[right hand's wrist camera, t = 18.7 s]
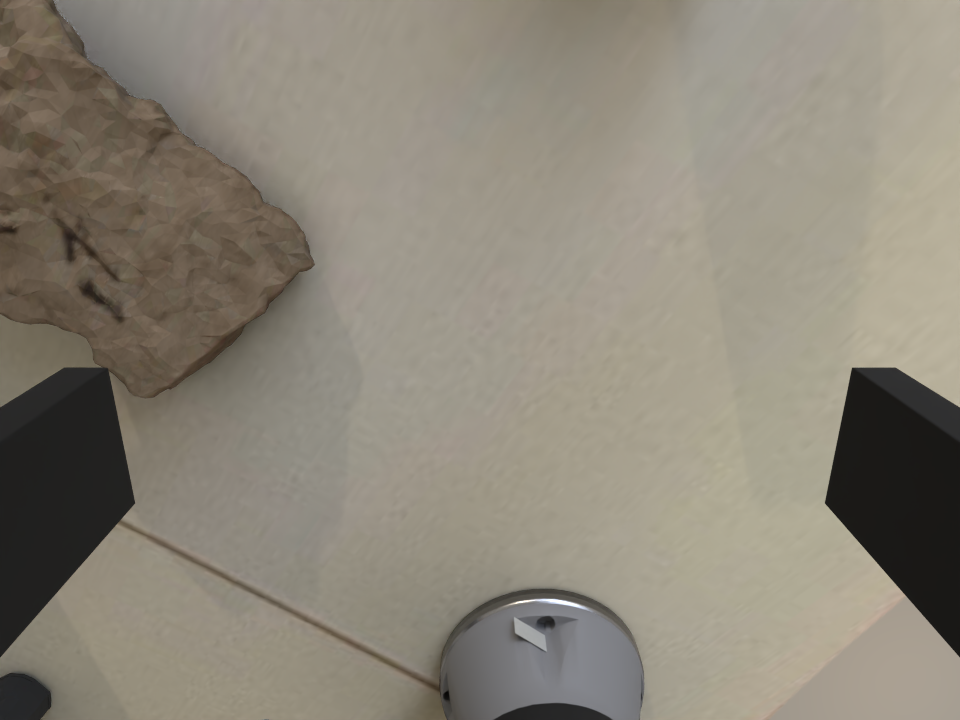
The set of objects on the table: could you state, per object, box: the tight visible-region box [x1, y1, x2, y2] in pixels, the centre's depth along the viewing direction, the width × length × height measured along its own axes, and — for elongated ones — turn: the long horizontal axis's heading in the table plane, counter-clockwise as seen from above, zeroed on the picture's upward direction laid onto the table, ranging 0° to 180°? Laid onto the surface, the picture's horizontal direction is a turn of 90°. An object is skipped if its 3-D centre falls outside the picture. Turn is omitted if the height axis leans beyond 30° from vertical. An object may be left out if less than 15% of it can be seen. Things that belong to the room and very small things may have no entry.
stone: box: [0, 0, 315, 398], centre depth 38 cm, size 21×15×6 cm
